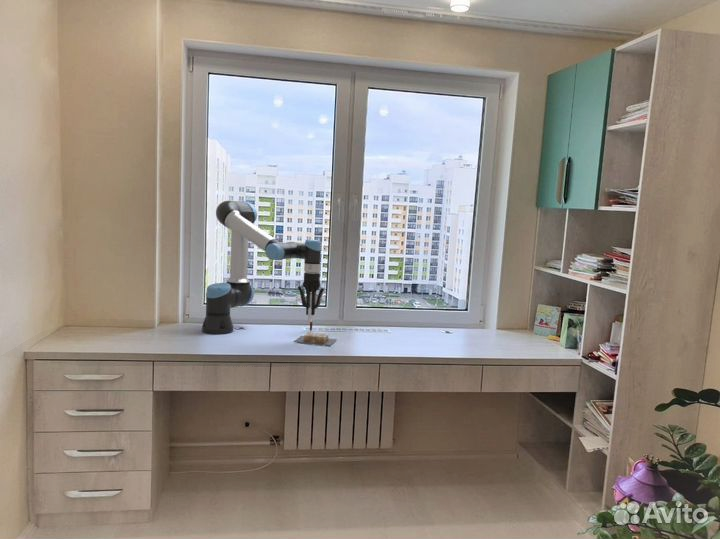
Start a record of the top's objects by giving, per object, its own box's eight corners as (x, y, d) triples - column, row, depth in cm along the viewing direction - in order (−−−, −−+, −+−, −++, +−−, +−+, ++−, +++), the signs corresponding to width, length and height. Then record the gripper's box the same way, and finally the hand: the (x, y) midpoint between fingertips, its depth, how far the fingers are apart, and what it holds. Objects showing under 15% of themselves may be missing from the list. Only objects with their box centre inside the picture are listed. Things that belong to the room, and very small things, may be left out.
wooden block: (304, 335, 245) (324, 337, 244) (308, 332, 252) (328, 334, 250) (303, 341, 246) (324, 343, 244) (308, 338, 253) (328, 340, 251)
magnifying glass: (319, 331, 271) (320, 293, 269) (319, 331, 269) (321, 293, 267) (302, 330, 270) (304, 292, 267) (302, 331, 268) (304, 293, 266)
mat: (293, 342, 245) (293, 341, 245) (301, 336, 257) (301, 335, 257) (330, 346, 242) (330, 345, 242) (336, 340, 254) (336, 339, 253)
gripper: (296, 272, 243) (294, 322, 245) (323, 274, 240) (321, 324, 243) (301, 270, 250) (299, 318, 253) (327, 272, 248) (325, 321, 250)
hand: (310, 321), depth 248 cm, fingers closed
